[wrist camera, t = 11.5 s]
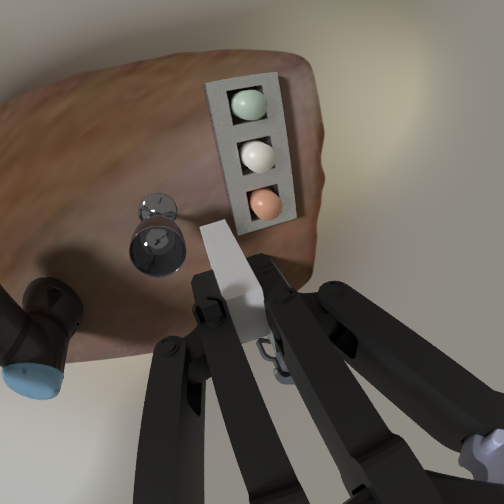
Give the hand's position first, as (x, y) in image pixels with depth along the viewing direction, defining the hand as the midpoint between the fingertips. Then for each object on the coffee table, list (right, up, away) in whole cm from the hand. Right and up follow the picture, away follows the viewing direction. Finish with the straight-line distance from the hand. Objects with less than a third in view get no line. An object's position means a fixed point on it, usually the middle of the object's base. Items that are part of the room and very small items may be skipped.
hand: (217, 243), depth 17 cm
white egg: (+2, +17, +32) cm, 36 cm away
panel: (+2, +17, +32) cm, 37 cm away
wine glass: (-15, +7, +33) cm, 37 cm away
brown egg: (+4, +10, +37) cm, 38 cm away
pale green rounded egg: (+1, +24, +27) cm, 36 cm away
